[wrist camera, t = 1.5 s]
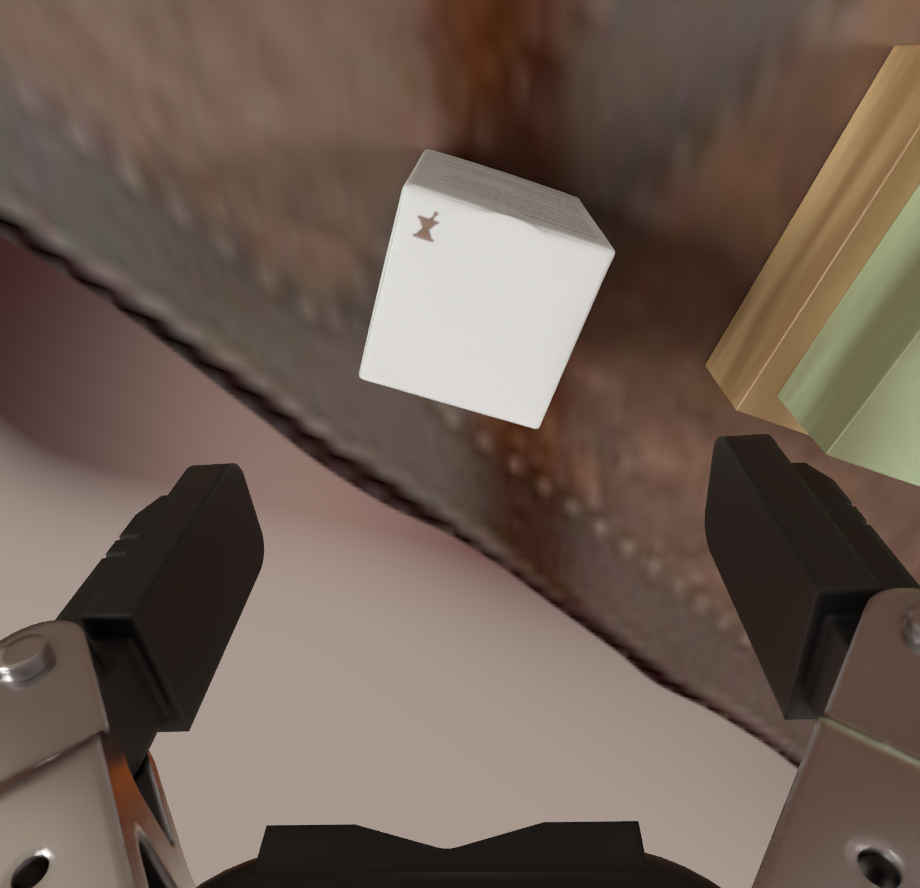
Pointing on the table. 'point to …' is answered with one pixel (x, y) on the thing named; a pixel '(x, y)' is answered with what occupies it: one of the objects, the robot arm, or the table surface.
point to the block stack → (844, 295)
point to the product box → (483, 289)
